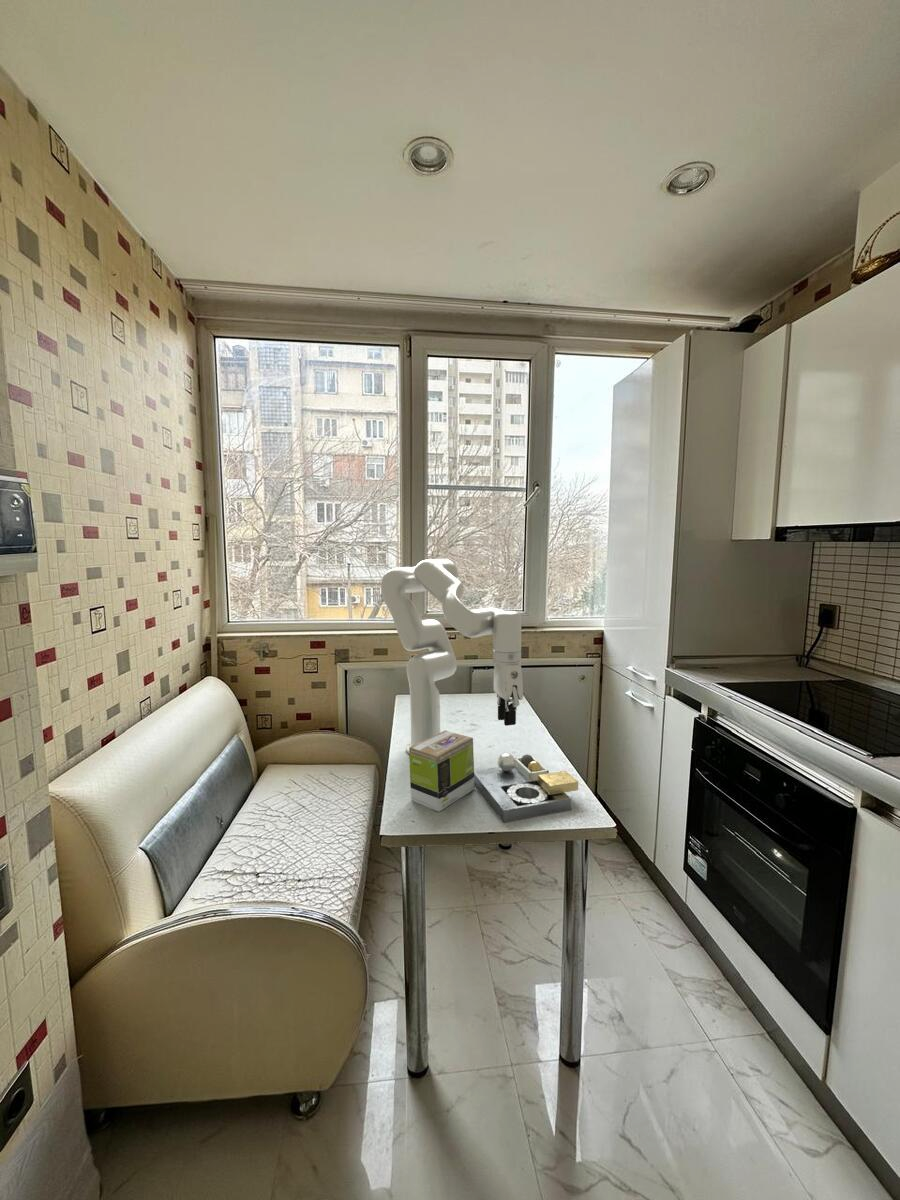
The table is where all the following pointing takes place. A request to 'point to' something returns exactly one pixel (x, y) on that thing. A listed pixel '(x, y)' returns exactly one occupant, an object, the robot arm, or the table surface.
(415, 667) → the robot arm
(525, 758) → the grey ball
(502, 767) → the steel ball
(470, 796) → the table surface
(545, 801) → the bearing plate
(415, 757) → the tea box
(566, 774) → the brass cover
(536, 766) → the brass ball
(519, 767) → the parts tray
